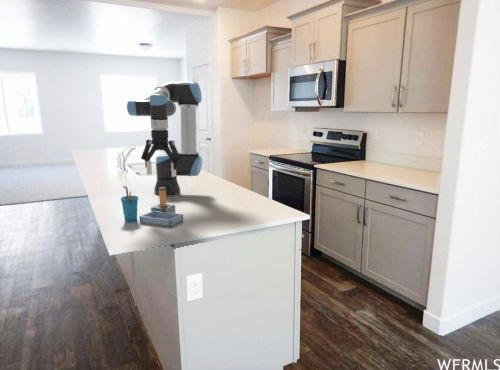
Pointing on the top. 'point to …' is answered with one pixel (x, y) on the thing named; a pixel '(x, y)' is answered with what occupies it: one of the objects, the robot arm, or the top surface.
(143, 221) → the tray
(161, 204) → the pin
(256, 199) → the top surface
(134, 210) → the cup
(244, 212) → the top surface
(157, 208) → the hitch block
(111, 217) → the top surface
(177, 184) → the robot arm
